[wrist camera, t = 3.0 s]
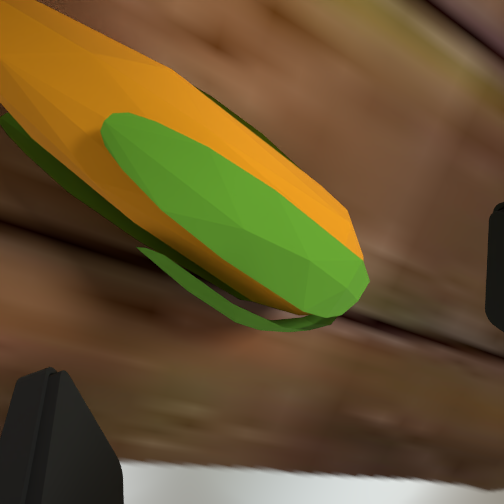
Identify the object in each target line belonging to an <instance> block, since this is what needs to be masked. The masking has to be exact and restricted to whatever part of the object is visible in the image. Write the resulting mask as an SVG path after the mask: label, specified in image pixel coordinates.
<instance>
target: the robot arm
mask: <svg viewBox="0 0 504 504" xmlns="http://www.w3.org/2000/svg"><path fill="white" fill-rule="evenodd" d="M485 312H486V315H487V317H488V319H489V320H490V322H491V323H492V324H493V325H494V326H496V327H497V328H499V329H500V330H501V331H503V332H504V202H502V203H499V204H498V205H497V206H496V207H495V208H494V210H493V213H492V214H491V216H490V218H489V233H488V256H487V278H486V300H485ZM123 499H124V498H123V474H122V469H121V465H120V462H119V460H118V458H117V456H116V454H115V453H114V451H113V449H112V448H111V446H110V444H109V442H108V441H107V439H106V437H105V436H104V434H103V432H102V430H101V429H100V427H99V425H98V424H97V422H96V420H95V419H94V417H93V415H92V413H91V412H90V410H89V408H88V407H87V405H86V403H85V401H84V400H83V398H82V396H81V395H80V393H79V391H78V389H77V388H76V386H75V384H74V383H73V381H72V379H71V378H70V376H69V374H68V373H67V372H66V371H64V370H63V371H60V372H56V370H55V369H53V368H52V367H48V368H46V369H43V370H40V371H37V372H35V373H32V374H29V375H26V376H24V377H21V378H19V379H18V380H17V382H16V385H15V388H14V392H13V396H12V399H11V403H10V406H9V410H8V413H7V417H6V421H5V424H4V428H3V431H2V435H1V438H0V504H124V500H123Z"/></svg>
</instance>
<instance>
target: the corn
mask: <svg viewBox="0 0 504 504" xmlns="http://www.w3.org/2000/svg"><path fill="white" fill-rule="evenodd" d="M0 103H1V104H2V105H3V106H4V107H5V109H6V110H7V111H8V112H9V113H6V114H4V115H3V116H1V117H0V125H1V126H2V128H3V129H4V131H5V132H6V134H7V135H8V136H9V137H10V138H11V139H12V140H13V141H14V142H15V143H16V144H17V145H18V146H19V147H20V148H21V150H22V151H23V152H24V153H25V154H26V155H27V156H28V157H30V158H31V159H32V160H33V161H34V162H35V163H36V164H37V165H38V166H40V167H41V168H42V169H43V170H44V171H45V172H46V173H47V174H48V175H50V176H51V177H52V178H53V179H54V180H55V181H56V182H57V183H58V184H59V185H61V186H62V187H63V188H64V189H65V190H66V191H67V192H69V193H70V194H72V195H73V196H74V197H76V198H77V199H79V200H80V201H82V202H83V203H85V204H86V205H87V206H89V207H90V208H92V209H93V210H95V211H96V212H98V213H99V214H100V215H102V216H103V217H105V218H106V219H108V220H109V221H111V222H112V223H113V224H115V225H116V226H118V227H119V228H121V229H122V230H124V231H125V232H126V233H128V234H129V235H131V236H132V237H134V238H135V239H137V240H138V241H140V242H141V243H143V244H145V245H147V246H148V247H150V248H152V249H154V250H155V251H157V252H155V251H153V250H150V249H147V248H141V247H136V248H137V249H139V250H140V251H141V252H142V253H143V254H145V255H146V256H147V257H148V258H149V259H150V260H152V261H153V262H154V263H155V264H156V265H158V266H159V267H160V268H161V269H162V270H163V271H165V272H166V273H167V274H168V275H169V276H171V277H172V278H173V279H174V280H175V281H177V282H178V283H179V284H180V285H181V286H182V287H184V288H185V289H186V290H187V291H189V292H190V293H192V294H193V295H195V296H196V297H198V298H199V299H201V300H202V301H204V302H205V303H207V304H208V305H210V306H211V307H213V308H214V309H216V310H217V311H219V312H220V313H222V314H224V315H225V316H227V317H228V318H230V319H231V320H233V321H234V322H236V323H239V324H242V325H245V326H249V327H252V328H255V329H258V330H265V331H280V332H295V331H306V330H312V329H315V328H319V327H323V326H327V325H331V324H332V322H333V321H334V320H335V319H336V318H337V317H338V316H339V315H342V314H343V313H344V312H346V311H347V310H348V309H349V308H350V307H351V306H353V305H354V304H355V303H356V302H357V301H358V300H359V298H360V297H361V295H362V293H363V292H364V290H365V288H366V287H367V285H368V283H369V278H368V274H367V271H366V268H365V265H364V262H363V254H362V251H361V249H360V246H359V243H358V240H357V237H356V234H355V231H354V228H353V225H352V222H351V219H350V216H349V213H348V211H347V209H346V208H344V207H343V206H342V205H341V204H340V203H339V202H338V201H337V200H336V199H335V198H334V197H333V196H332V195H331V194H329V193H328V192H327V191H326V190H325V189H324V188H323V187H322V186H321V185H320V184H318V183H317V182H316V181H315V180H313V179H312V178H311V177H309V176H308V175H307V174H306V173H304V172H303V171H302V170H301V169H300V168H299V167H298V166H297V165H296V164H295V163H293V162H292V161H291V160H290V159H289V158H288V157H287V156H286V155H285V154H284V153H283V152H281V151H280V150H279V149H278V148H277V147H276V146H275V145H274V144H273V143H272V142H271V141H269V140H268V139H267V138H266V137H265V136H264V135H263V134H262V133H260V132H259V131H258V130H256V129H255V128H254V127H252V126H251V125H249V124H248V123H247V122H245V121H244V120H243V119H241V118H240V117H239V116H237V115H236V114H235V113H233V112H232V111H231V110H229V109H228V108H227V107H225V106H224V105H222V104H221V103H220V102H218V101H217V100H216V99H214V98H213V97H212V96H210V95H208V94H206V93H205V92H203V91H201V90H200V89H198V88H196V87H195V86H193V85H191V84H190V83H189V82H188V81H186V80H185V79H184V78H182V77H181V76H180V75H179V74H177V73H176V72H175V71H173V70H172V69H170V68H168V67H166V66H164V65H162V64H160V63H158V62H156V61H154V60H152V59H150V58H148V57H146V56H144V55H142V54H140V53H138V52H137V51H135V50H133V49H131V48H129V47H127V46H125V45H123V44H121V43H119V42H117V41H115V40H113V39H111V38H109V37H107V36H105V35H103V34H101V33H99V32H97V31H95V30H93V29H91V28H89V27H87V26H85V25H83V24H81V23H79V22H77V21H75V20H73V19H71V18H69V17H68V16H66V15H64V14H62V13H60V12H58V11H56V10H54V9H52V8H50V7H48V6H46V5H44V4H42V3H40V2H38V1H36V0H0ZM158 252H159V253H158ZM170 259H171V260H170ZM172 260H173V261H174V262H173V261H172ZM175 262H176V263H178V264H179V265H181V266H183V267H185V268H186V269H188V270H190V271H192V272H193V273H195V274H197V275H198V276H200V277H202V278H204V279H205V280H207V281H209V282H211V283H212V284H214V285H216V286H217V287H219V288H221V289H223V290H224V291H226V292H228V293H229V294H231V295H233V296H235V297H236V298H238V299H240V300H246V301H252V302H256V303H259V304H262V305H266V306H269V307H272V308H276V309H279V310H283V311H286V312H290V313H293V314H297V315H308V316H305V317H302V318H292V319H282V320H266V319H264V318H262V317H260V316H258V315H256V314H253V313H251V312H249V311H247V310H245V309H243V308H241V307H238V306H236V305H234V304H232V303H231V302H229V301H228V300H226V299H225V298H224V297H222V296H221V295H219V294H218V293H217V292H215V291H214V290H212V289H211V288H210V287H208V286H207V285H205V284H204V283H203V282H201V281H200V280H198V279H197V278H196V277H194V276H193V275H191V274H190V273H189V272H187V271H186V270H184V269H183V268H182V267H180V266H179V265H177V264H176V263H175Z"/></svg>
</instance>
